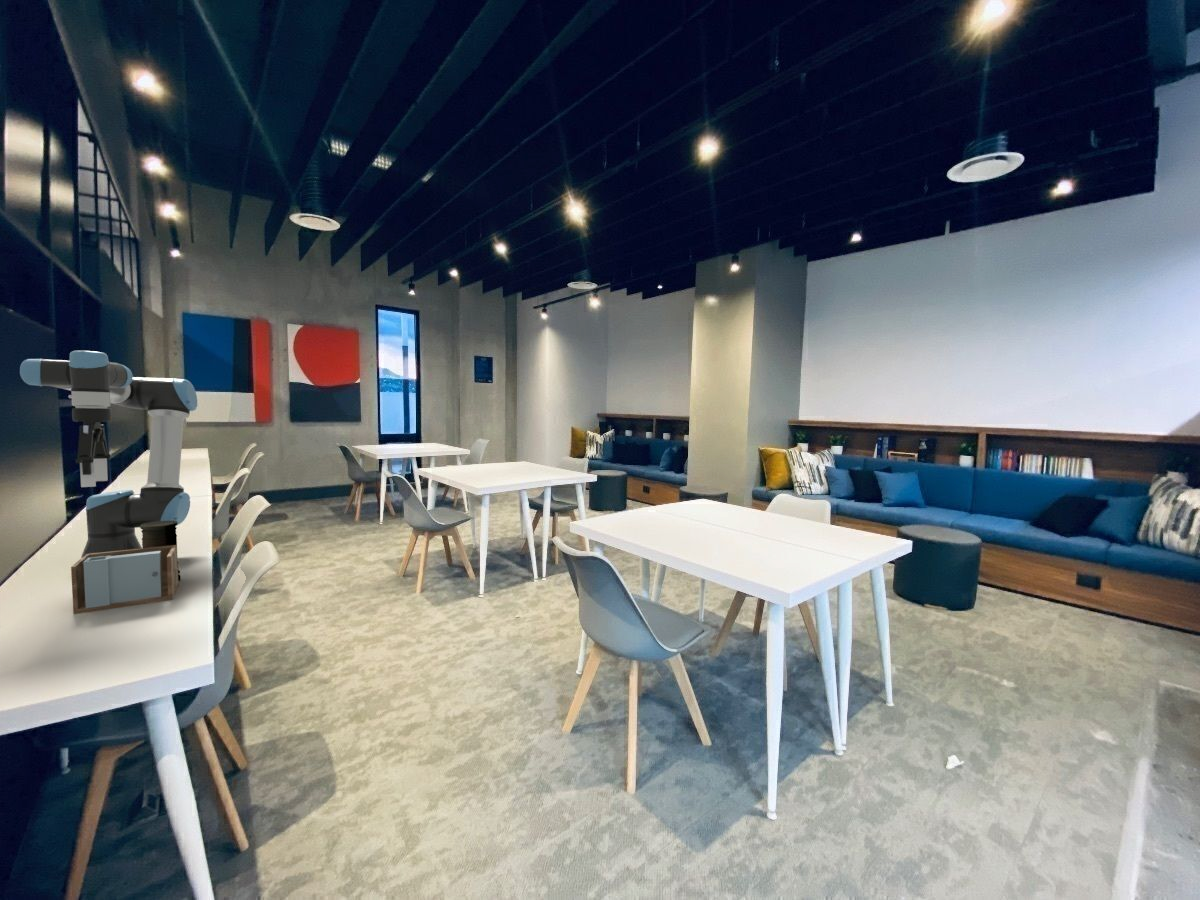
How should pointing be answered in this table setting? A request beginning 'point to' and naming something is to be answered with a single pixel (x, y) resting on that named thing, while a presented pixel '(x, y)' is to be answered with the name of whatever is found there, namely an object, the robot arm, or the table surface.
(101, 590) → the door
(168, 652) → the table surface
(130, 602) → the cabinet
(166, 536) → the container
